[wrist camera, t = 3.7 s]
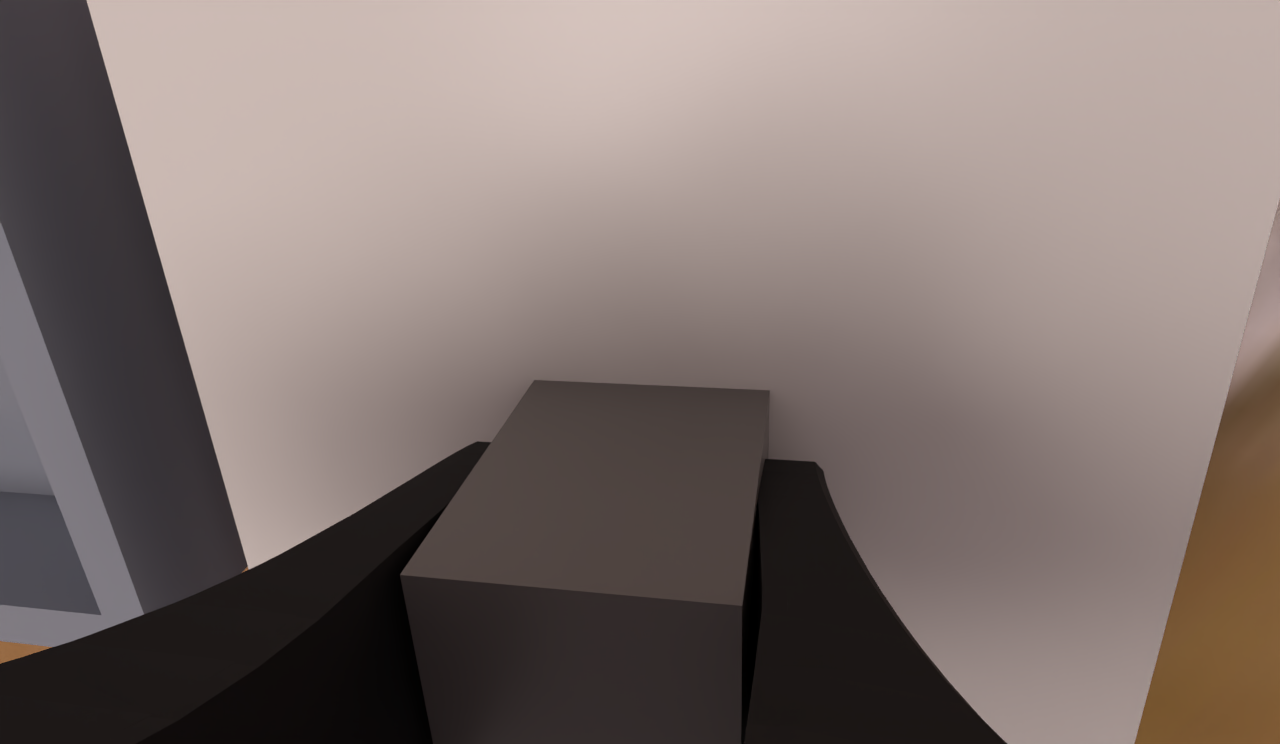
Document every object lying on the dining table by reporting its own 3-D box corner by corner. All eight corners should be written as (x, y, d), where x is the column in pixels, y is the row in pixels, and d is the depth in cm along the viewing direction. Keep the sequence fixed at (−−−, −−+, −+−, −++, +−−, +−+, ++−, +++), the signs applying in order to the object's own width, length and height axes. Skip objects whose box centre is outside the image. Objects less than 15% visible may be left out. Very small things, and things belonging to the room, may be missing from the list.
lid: (1312, -94, 8) (1825, -148, 4) (1083, 837, 14) (1198, 1230, 10) (127, -31, 11) (-329, -25, 7) (329, 738, 16) (153, 1015, 12)
